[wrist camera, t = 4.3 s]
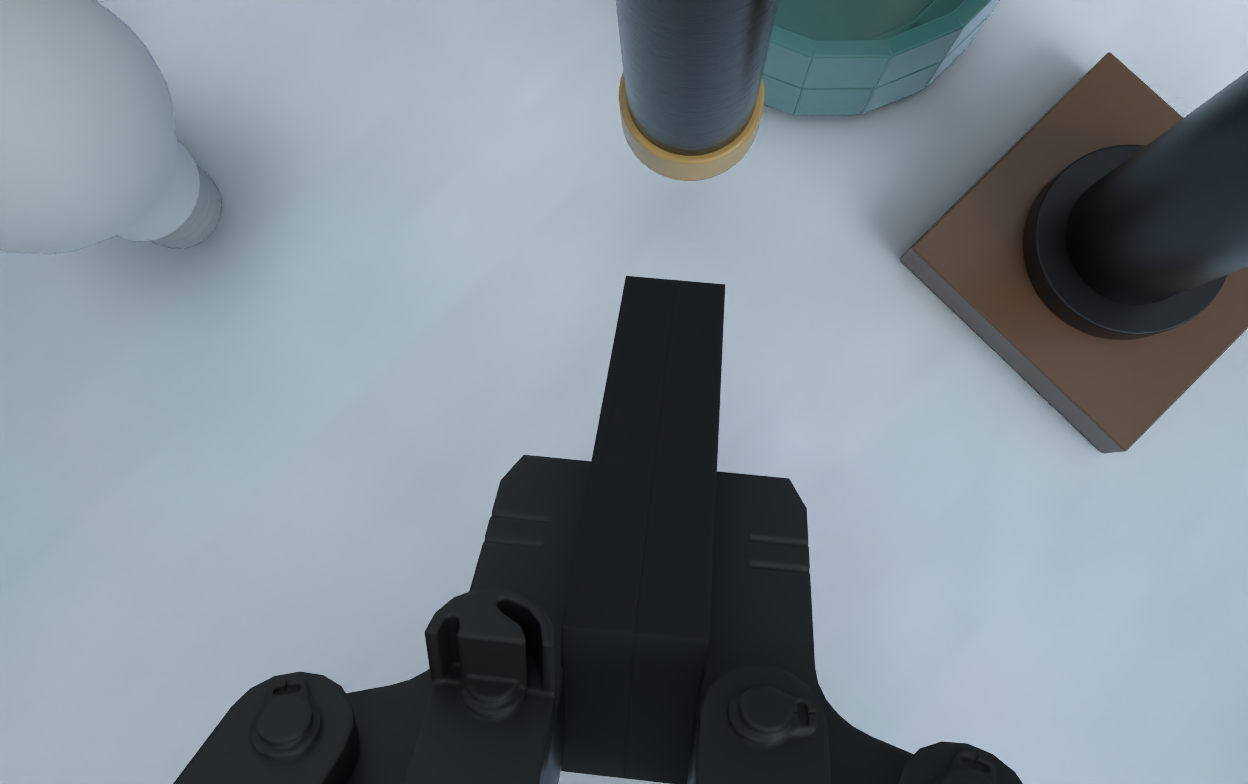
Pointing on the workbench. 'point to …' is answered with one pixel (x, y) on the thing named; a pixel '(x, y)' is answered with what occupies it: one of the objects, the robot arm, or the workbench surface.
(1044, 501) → the workbench surface
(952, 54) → the basin
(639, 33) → the spout
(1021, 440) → the workbench surface
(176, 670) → the workbench surface
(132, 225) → the lightbulb
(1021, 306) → the black post
